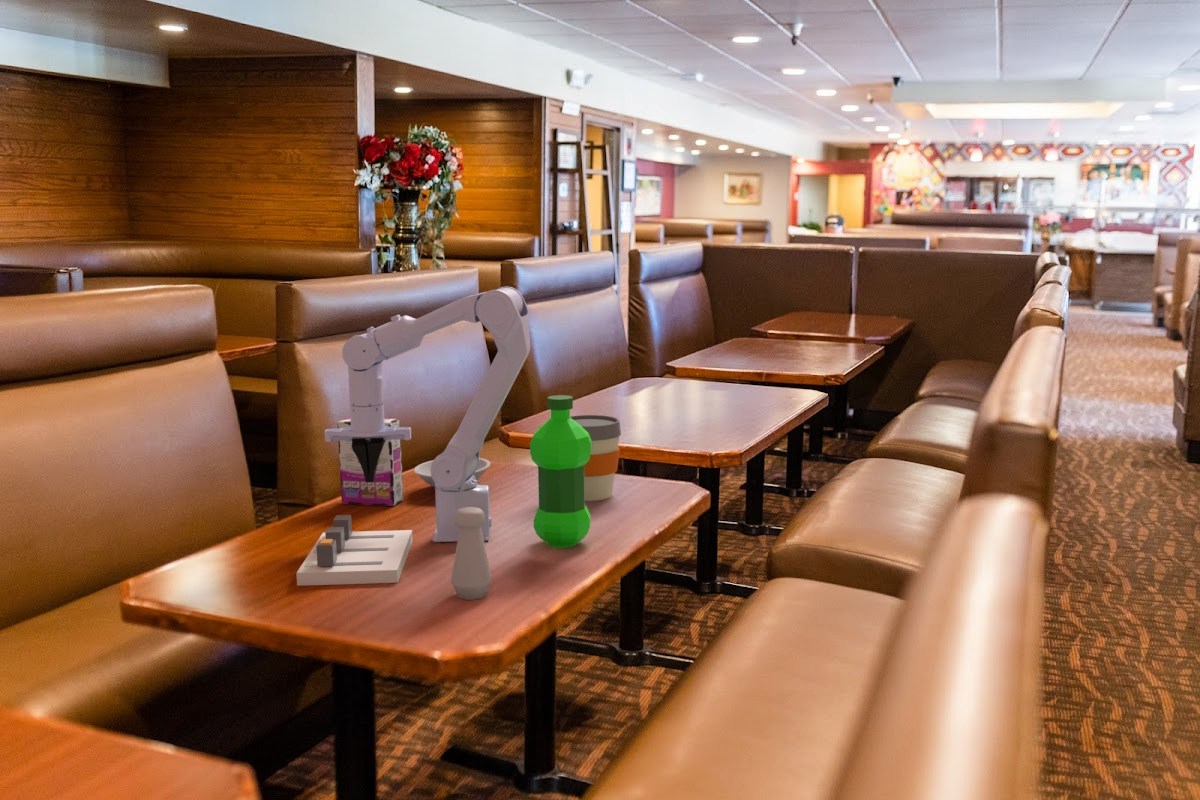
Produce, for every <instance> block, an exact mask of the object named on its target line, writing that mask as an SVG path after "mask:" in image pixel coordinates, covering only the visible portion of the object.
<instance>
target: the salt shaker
mask: <svg viewBox="0 0 1200 800" xmlns="http://www.w3.org/2000/svg"><path fill="white" fill-rule="evenodd" d="M484 522H485V515H484V512H483V511H482V510H481V509H480V508H476V507H465V508H461V509H459V510H458V511H457V512H456V513H455V524H456V525H457V526H459V527H460V530H459V536H458V541H456V547H455V548H456V550H455V555H454V561H453V567H452V572H451V578H450V581H451V584H452V587H453V588H454V591H455V592H456V594H457V596H458V599H462V600H466V601H472V600H480V599H481V600H482V598H484V597H485V596H487V593H488V591H489V588H490V585H491V584H492V575H491V568H490V564H489V558H488V554H487V549H486V545H485V541H484V539H483V534H482V529H481V525H483V524H484Z"/></svg>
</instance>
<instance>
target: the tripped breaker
mask: <svg viewBox="0 0 1200 800" xmlns="http://www.w3.org/2000/svg"><path fill="white" fill-rule="evenodd" d="M316 548H317V566H334V564H335V562H336V560H337V551H336V540H333V539H322V540H320V541H319V543H318V544H317V546H316Z"/></svg>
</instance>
